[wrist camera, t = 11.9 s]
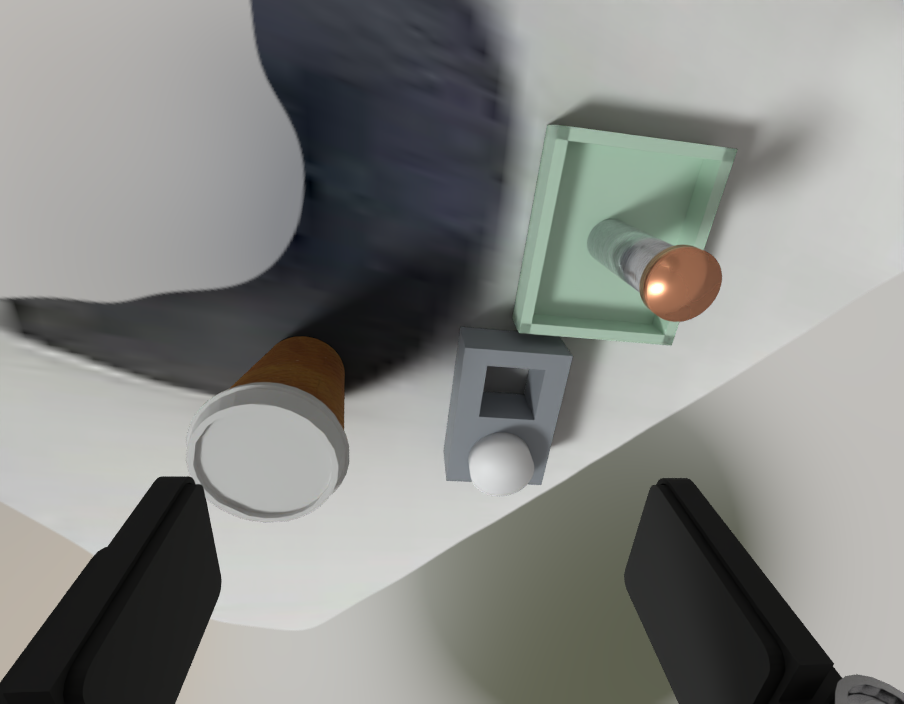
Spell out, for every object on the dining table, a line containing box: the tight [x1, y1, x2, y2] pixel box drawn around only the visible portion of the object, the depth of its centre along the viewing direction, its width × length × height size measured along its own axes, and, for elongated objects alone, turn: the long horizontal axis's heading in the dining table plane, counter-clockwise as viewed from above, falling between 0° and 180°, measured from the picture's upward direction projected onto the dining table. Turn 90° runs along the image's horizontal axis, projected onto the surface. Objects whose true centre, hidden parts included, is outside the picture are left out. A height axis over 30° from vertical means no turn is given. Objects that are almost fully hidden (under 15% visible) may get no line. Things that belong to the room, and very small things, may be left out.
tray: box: [512, 125, 737, 345], centre depth 35 cm, size 14×12×3 cm
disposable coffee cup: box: [186, 336, 349, 523], centre depth 34 cm, size 10×10×12 cm
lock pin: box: [587, 219, 722, 322], centre depth 31 cm, size 4×4×11 cm
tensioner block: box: [444, 327, 573, 496], centre depth 39 cm, size 12×8×6 cm, turn 173°
